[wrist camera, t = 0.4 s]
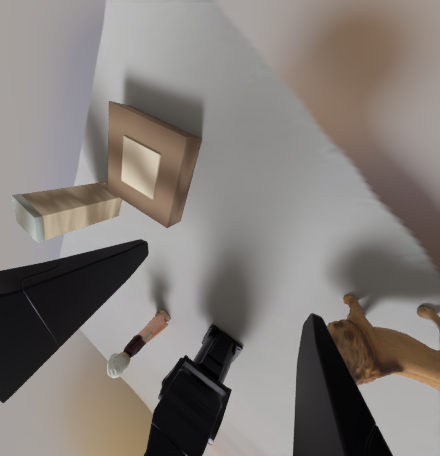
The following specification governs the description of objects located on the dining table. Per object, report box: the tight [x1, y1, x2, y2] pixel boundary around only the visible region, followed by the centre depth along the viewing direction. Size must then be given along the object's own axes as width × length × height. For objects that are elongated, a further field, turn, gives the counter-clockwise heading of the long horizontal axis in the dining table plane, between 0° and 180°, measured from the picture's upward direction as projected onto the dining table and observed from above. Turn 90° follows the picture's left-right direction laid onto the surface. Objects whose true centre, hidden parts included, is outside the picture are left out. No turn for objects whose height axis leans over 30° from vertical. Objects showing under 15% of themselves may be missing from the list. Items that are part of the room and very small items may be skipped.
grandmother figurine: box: [107, 310, 170, 378], centre depth 35 cm, size 8×4×13 cm, turn 144°
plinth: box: [108, 101, 202, 228], centre depth 25 cm, size 12×12×3 cm
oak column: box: [12, 182, 122, 243], centre depth 29 cm, size 5×5×12 cm
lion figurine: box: [327, 295, 440, 391], centre depth 16 cm, size 15×5×9 cm, turn 107°
